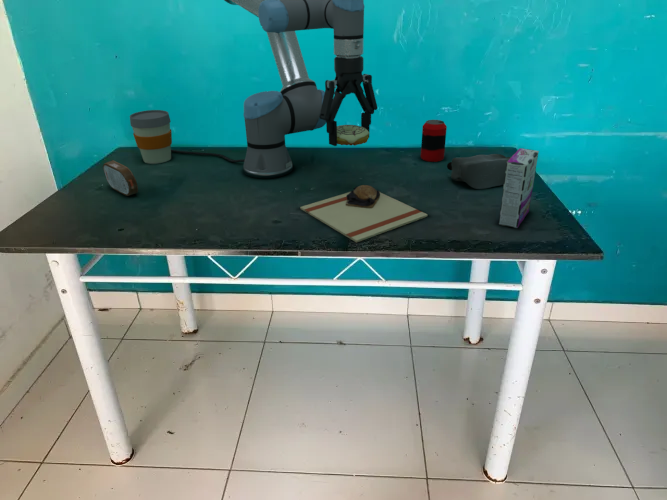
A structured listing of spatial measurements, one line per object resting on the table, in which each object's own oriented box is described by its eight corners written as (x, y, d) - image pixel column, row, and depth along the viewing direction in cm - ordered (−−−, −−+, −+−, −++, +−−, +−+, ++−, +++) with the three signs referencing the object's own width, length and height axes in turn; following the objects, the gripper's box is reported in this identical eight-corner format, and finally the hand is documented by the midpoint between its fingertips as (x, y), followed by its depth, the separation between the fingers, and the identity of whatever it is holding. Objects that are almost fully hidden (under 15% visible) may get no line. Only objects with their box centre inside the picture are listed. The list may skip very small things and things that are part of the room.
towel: (300, 208, 138) (300, 206, 138) (367, 188, 150) (367, 186, 150) (356, 242, 121) (356, 240, 121) (427, 216, 133) (427, 214, 132)
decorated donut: (355, 149, 137) (355, 135, 136) (322, 143, 143) (322, 129, 141) (375, 139, 145) (375, 125, 143) (343, 133, 150) (343, 120, 148)
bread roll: (353, 190, 147) (353, 178, 145) (382, 194, 145) (383, 181, 143) (342, 205, 138) (342, 192, 136) (373, 209, 136) (373, 196, 134)
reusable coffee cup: (148, 152, 182) (139, 109, 175) (182, 153, 180) (175, 110, 173) (131, 164, 171) (121, 119, 164) (167, 166, 170) (159, 120, 162)
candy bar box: (509, 208, 136) (519, 147, 128) (529, 212, 134) (540, 150, 126) (496, 224, 128) (506, 160, 120) (517, 229, 126) (528, 164, 118)
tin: (141, 196, 147) (135, 168, 143) (130, 200, 145) (124, 171, 141) (115, 183, 157) (109, 156, 152) (105, 186, 155) (98, 159, 150)
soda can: (445, 162, 168) (449, 125, 162) (422, 162, 168) (424, 125, 163) (441, 154, 175) (444, 118, 169) (419, 154, 175) (421, 119, 169)
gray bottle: (500, 171, 160) (503, 146, 156) (520, 184, 150) (524, 158, 147) (444, 177, 156) (446, 152, 152) (461, 191, 147) (464, 165, 143)
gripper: (320, 62, 124) (323, 152, 135) (392, 52, 136) (389, 135, 147) (302, 59, 130) (307, 145, 140) (373, 49, 142) (372, 130, 152)
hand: (349, 140), depth 144 cm, fingers closed on decorated donut, 11 cm apart
